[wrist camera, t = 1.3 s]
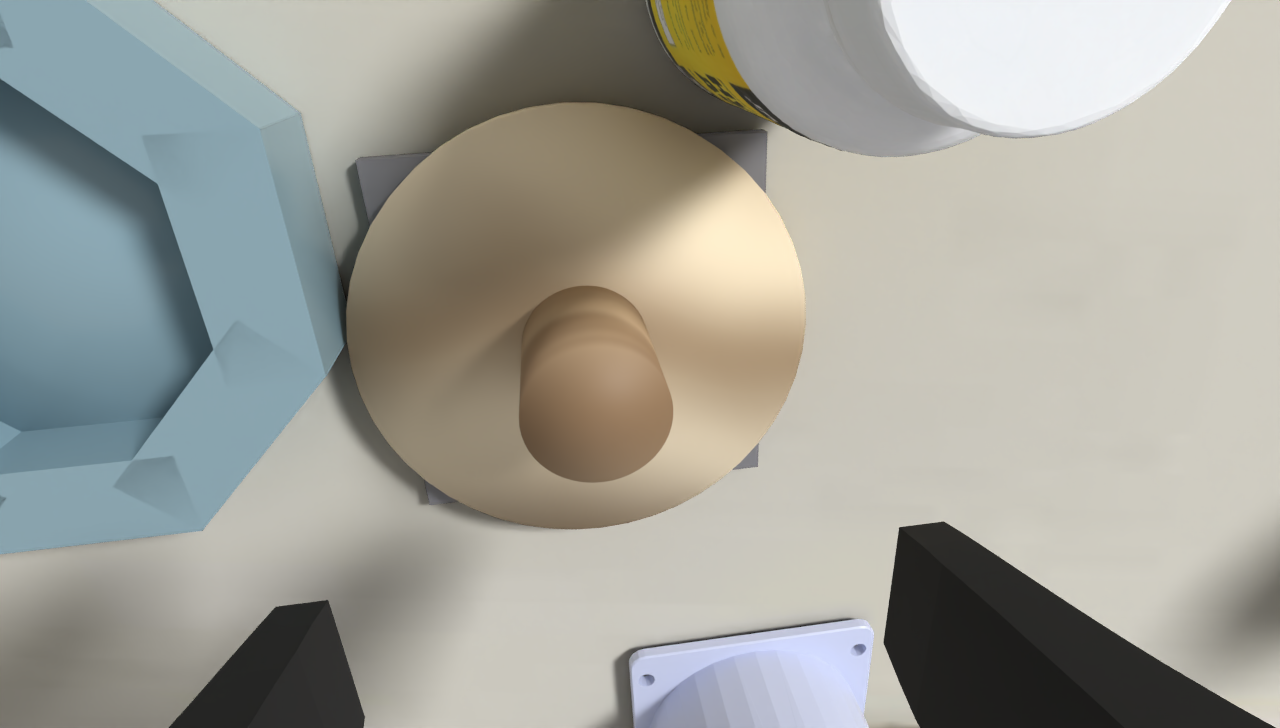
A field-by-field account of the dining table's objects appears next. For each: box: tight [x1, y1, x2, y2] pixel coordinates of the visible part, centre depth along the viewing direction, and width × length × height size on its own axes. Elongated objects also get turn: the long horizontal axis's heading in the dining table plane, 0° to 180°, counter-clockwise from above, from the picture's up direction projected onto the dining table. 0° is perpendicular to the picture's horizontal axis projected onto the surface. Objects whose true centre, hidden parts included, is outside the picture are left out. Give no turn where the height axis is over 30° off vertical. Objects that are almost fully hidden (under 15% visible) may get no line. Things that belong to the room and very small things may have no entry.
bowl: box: [0, 0, 347, 554], centre depth 15 cm, size 12×12×2 cm
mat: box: [356, 129, 767, 505], centre depth 18 cm, size 9×9×1 cm
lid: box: [346, 102, 806, 529], centre depth 16 cm, size 11×11×4 cm
